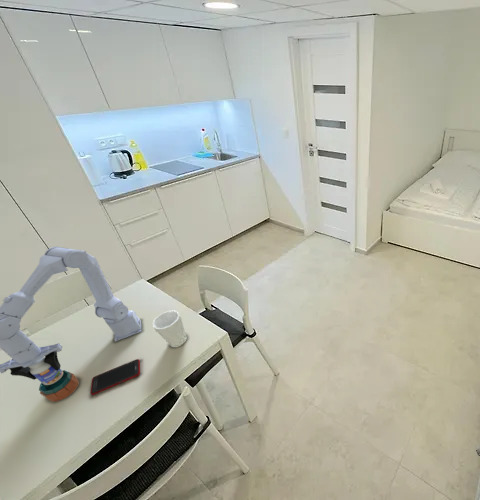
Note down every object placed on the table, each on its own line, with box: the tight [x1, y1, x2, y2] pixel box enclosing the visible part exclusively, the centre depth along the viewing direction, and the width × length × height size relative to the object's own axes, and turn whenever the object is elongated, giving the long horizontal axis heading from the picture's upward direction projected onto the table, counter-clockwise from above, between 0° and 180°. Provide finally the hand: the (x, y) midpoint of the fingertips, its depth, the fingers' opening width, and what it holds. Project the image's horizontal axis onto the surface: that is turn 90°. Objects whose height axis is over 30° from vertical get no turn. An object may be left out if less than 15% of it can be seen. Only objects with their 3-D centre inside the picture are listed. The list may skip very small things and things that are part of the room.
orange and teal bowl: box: [38, 369, 80, 403], centre depth 100 cm, size 9×9×6 cm
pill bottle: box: [28, 356, 63, 385], centre depth 95 cm, size 5×5×10 cm
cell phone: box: [90, 358, 141, 396], centre depth 104 cm, size 8×15×1 cm, turn 122°
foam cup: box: [151, 309, 187, 348], centre depth 114 cm, size 10×9×13 cm
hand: (47, 372), depth 96 cm, fingers closed on pill bottle, 5 cm apart
